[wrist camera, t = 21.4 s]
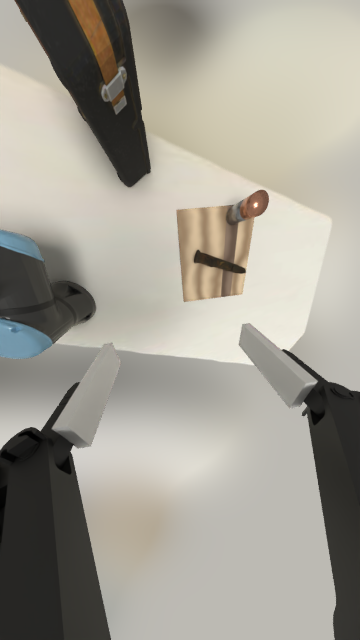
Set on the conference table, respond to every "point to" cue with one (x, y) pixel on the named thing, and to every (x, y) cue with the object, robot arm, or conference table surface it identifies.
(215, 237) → the plywood sheet
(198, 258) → the hand tool
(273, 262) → the conference table surface
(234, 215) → the copper and grey cylinder
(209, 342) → the conference table surface
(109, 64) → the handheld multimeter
